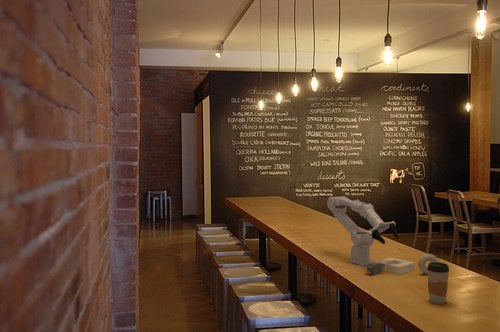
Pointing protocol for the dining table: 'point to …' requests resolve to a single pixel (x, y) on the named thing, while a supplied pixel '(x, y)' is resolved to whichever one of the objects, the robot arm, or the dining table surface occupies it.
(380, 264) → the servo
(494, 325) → the dining table surface
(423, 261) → the donut
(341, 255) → the dining table surface
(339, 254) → the dining table surface
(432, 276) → the coffee cup
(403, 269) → the chassis
